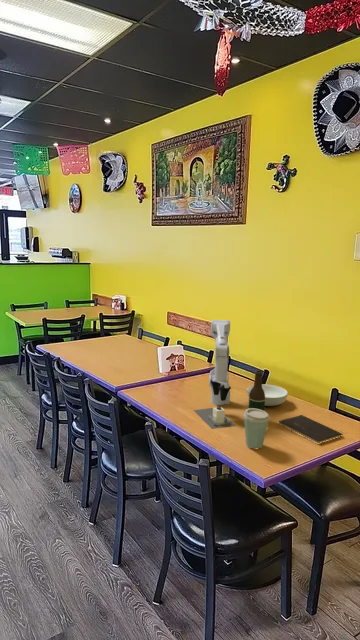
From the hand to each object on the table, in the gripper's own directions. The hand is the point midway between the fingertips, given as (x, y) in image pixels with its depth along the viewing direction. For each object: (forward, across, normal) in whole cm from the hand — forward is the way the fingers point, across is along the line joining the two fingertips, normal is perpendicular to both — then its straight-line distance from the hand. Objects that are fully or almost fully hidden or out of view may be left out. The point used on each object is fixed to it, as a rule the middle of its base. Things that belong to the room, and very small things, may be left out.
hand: (219, 397), depth 199 cm
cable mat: (+9, +3, -4) cm, 11 cm away
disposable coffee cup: (+10, +32, +1) cm, 33 cm away
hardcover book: (+10, +26, +33) cm, 43 cm away
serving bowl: (+10, -9, +32) cm, 35 cm away
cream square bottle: (+8, +8, -4) cm, 12 cm away
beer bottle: (+10, +9, +15) cm, 20 cm away
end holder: (+9, +8, -4) cm, 13 cm away
